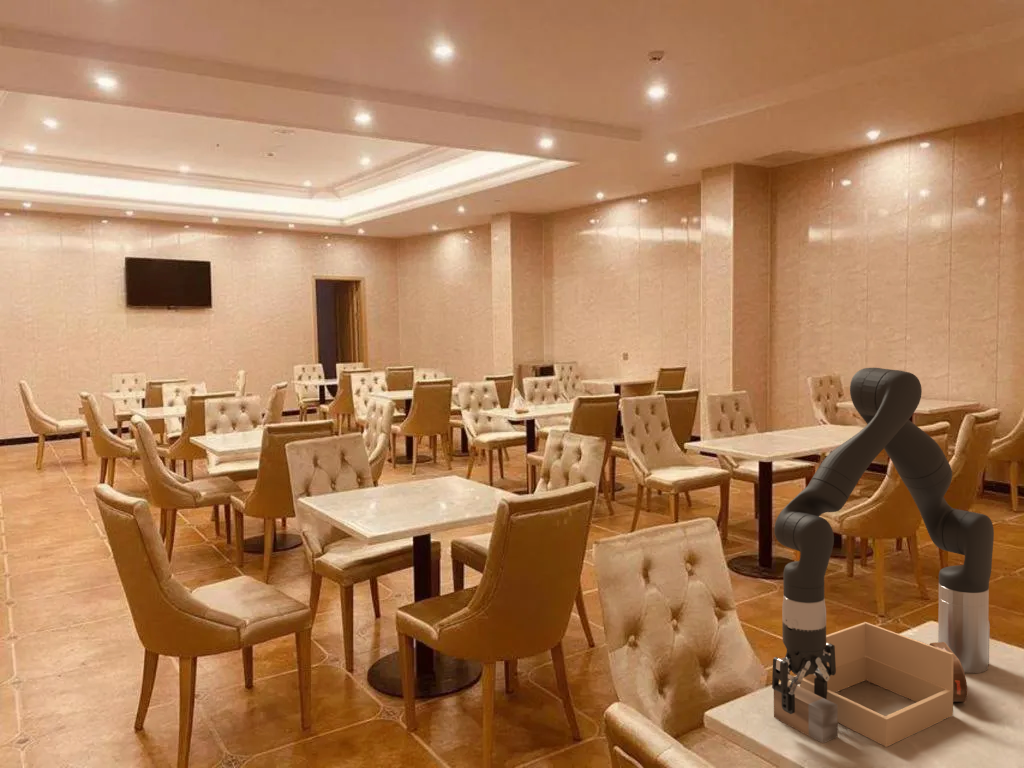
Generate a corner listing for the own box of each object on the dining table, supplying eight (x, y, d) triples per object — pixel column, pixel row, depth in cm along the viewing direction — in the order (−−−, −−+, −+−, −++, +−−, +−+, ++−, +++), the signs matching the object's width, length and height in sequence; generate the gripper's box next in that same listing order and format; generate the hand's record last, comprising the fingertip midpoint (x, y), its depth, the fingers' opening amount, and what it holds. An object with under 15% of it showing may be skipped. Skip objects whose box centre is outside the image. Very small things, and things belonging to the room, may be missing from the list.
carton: (864, 677, 162) (865, 621, 161) (952, 715, 146) (953, 653, 145) (800, 703, 153) (799, 644, 152) (886, 746, 137) (886, 680, 136)
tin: (968, 710, 148) (969, 667, 147) (950, 709, 149) (951, 666, 148) (942, 674, 163) (942, 635, 162) (925, 673, 163) (925, 634, 163)
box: (788, 711, 150) (788, 681, 150) (837, 736, 141) (837, 704, 140) (773, 717, 148) (773, 686, 148) (822, 743, 139) (822, 710, 138)
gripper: (813, 605, 149) (814, 687, 151) (760, 622, 142) (761, 707, 144) (847, 618, 143) (847, 703, 144) (793, 636, 136) (794, 725, 137)
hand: (804, 705), depth 144 cm, fingers open, 8 cm apart
